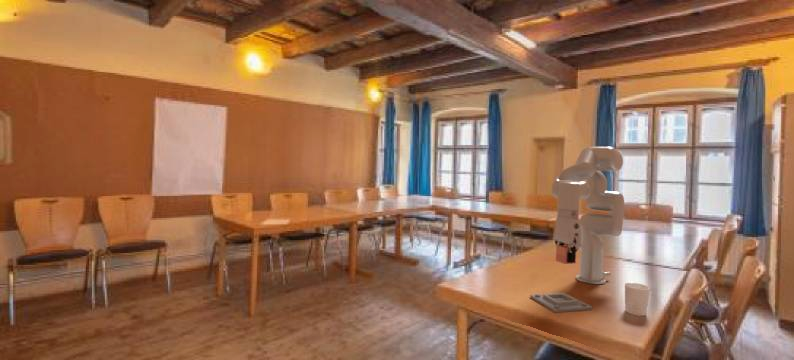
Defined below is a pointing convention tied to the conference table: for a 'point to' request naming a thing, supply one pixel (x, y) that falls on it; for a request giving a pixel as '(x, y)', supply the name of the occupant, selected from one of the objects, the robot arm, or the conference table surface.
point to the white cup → (636, 298)
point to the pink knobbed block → (563, 254)
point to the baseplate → (560, 302)
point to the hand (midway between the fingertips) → (565, 260)
